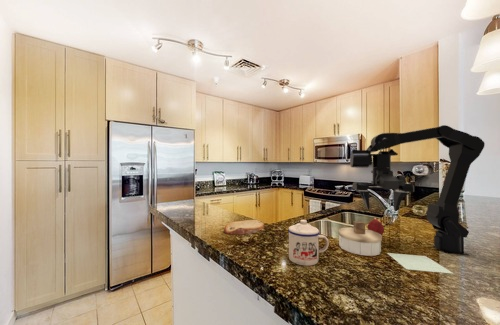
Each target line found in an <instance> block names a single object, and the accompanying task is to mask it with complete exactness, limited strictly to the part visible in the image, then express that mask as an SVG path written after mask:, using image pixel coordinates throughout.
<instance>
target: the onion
mask: <svg viewBox="0 0 500 325" xmlns="http://www.w3.org/2000/svg"><path fill="white" fill-rule="evenodd" d="M366 227H367V228H366V229H367V230H371V231H374V232H377V233H379V234H381V235H382V236H383V234H384V232H385V228H384V225H383V223H382V222H381V221H379V220H378V219H377V217H374V218H373V220H371V221H369V222H368V224H367V226H366Z"/></svg>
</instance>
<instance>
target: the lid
mask: <svg viewBox="0 0 500 325" xmlns="http://www.w3.org/2000/svg"><path fill="white" fill-rule="evenodd" d="M339 235H340V236H341V237H343V238H345V239H348V240H352V241H356V242H363V243H378V242H381V243H382V241H383V234H382V235H381V234H379V233H377V232H374V231H371V230H368V229H367V228H366V222H364V221H361V220H360V221H359V220H353V227H351V226H350V227H340V228H339V229H338V236H339Z"/></svg>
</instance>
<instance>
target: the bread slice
mask: <svg viewBox="0 0 500 325" xmlns="http://www.w3.org/2000/svg"><path fill="white" fill-rule="evenodd" d="M263 228H264V229H265V224H264V222H262V220H261V221H260V220H257V219H245V220H239V221H230V222H229V223H227V224H226V225H225V227H224V228H223V232H224V234H225V235H227V236H228V235H229V236H244V235H245V236H247V235H251V234H255V233H258V232H260V230H261V231H263V230H264V229H263ZM262 229H263V230H262Z"/></svg>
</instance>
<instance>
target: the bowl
mask: <svg viewBox="0 0 500 325" xmlns="http://www.w3.org/2000/svg"><path fill="white" fill-rule="evenodd" d="M338 245H339V247H340V248H341V249H342V250H344V251H346V252H348V253H350V254H355V255H358V256H368V257H369V256H370V257H374V256H378V255H380V254H381V252H382V241H381V242H378V243H363V242H356V241H352V240H348V239H345V238H343V237H341V236H340V235H339V234H338Z"/></svg>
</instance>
